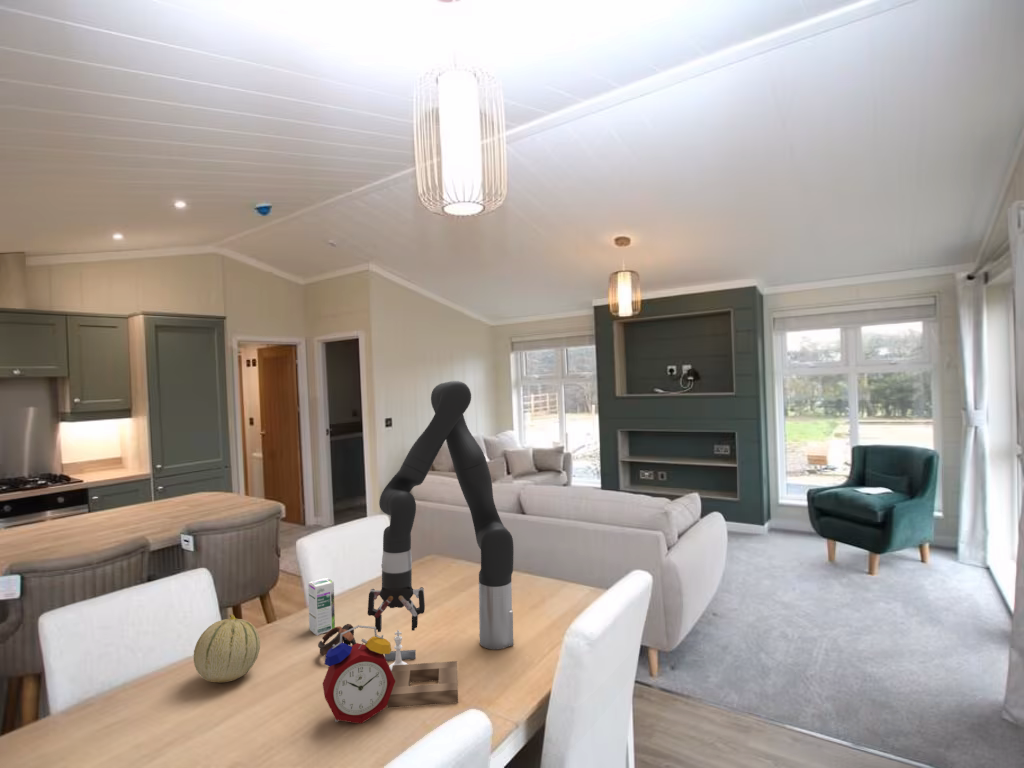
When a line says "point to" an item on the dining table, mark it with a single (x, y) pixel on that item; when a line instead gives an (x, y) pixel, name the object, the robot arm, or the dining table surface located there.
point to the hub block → (424, 693)
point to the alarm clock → (358, 678)
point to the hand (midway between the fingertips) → (396, 630)
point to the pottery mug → (337, 638)
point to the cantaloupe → (226, 650)
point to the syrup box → (321, 606)
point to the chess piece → (398, 650)
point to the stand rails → (404, 655)
